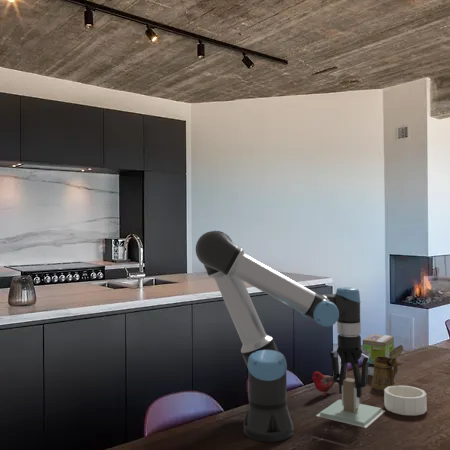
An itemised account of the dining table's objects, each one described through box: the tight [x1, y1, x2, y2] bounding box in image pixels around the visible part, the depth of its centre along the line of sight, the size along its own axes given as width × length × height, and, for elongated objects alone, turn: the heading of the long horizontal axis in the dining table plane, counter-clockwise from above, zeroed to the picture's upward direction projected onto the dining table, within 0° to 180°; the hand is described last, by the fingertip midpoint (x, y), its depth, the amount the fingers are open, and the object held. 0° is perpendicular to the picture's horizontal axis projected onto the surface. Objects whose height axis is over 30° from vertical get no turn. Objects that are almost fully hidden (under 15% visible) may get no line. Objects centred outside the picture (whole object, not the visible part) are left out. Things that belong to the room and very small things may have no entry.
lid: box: [319, 377, 382, 426], centre depth 159 cm, size 15×15×11 cm
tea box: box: [362, 333, 395, 377], centre depth 207 cm, size 15×10×15 cm
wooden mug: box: [370, 344, 404, 391], centre depth 184 cm, size 9×14×18 cm, turn 30°
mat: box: [315, 409, 386, 429], centre depth 158 cm, size 17×17×1 cm
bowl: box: [383, 384, 428, 417], centre depth 162 cm, size 13×13×6 cm
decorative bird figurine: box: [311, 370, 340, 397], centre depth 178 cm, size 3×18×10 cm, turn 131°
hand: (350, 405), depth 159 cm, fingers closed on lid, 3 cm apart
